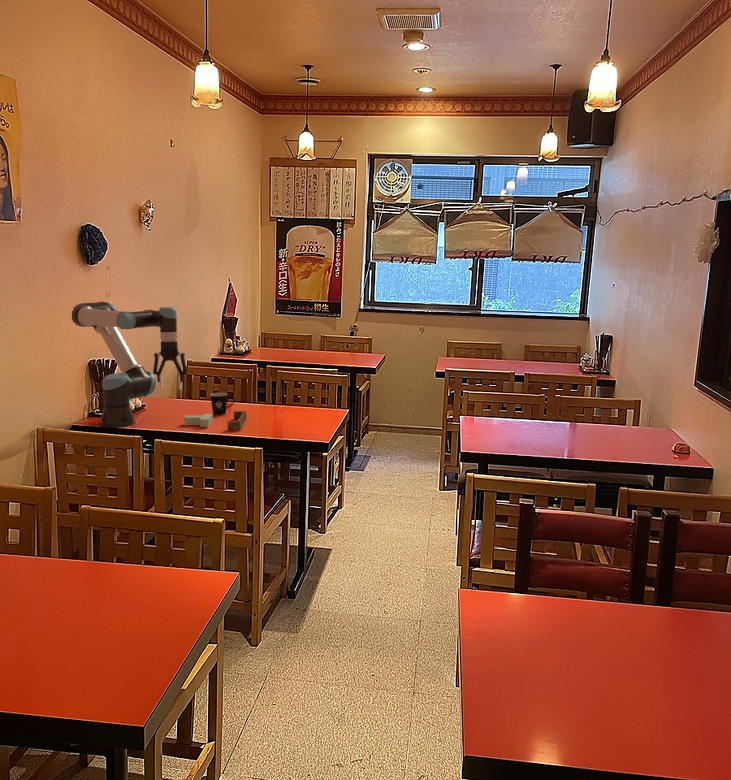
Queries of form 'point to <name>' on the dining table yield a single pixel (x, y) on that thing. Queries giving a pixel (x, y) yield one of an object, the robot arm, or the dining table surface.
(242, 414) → the fence
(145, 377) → the robot arm
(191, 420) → the tee block
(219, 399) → the coffee mug
